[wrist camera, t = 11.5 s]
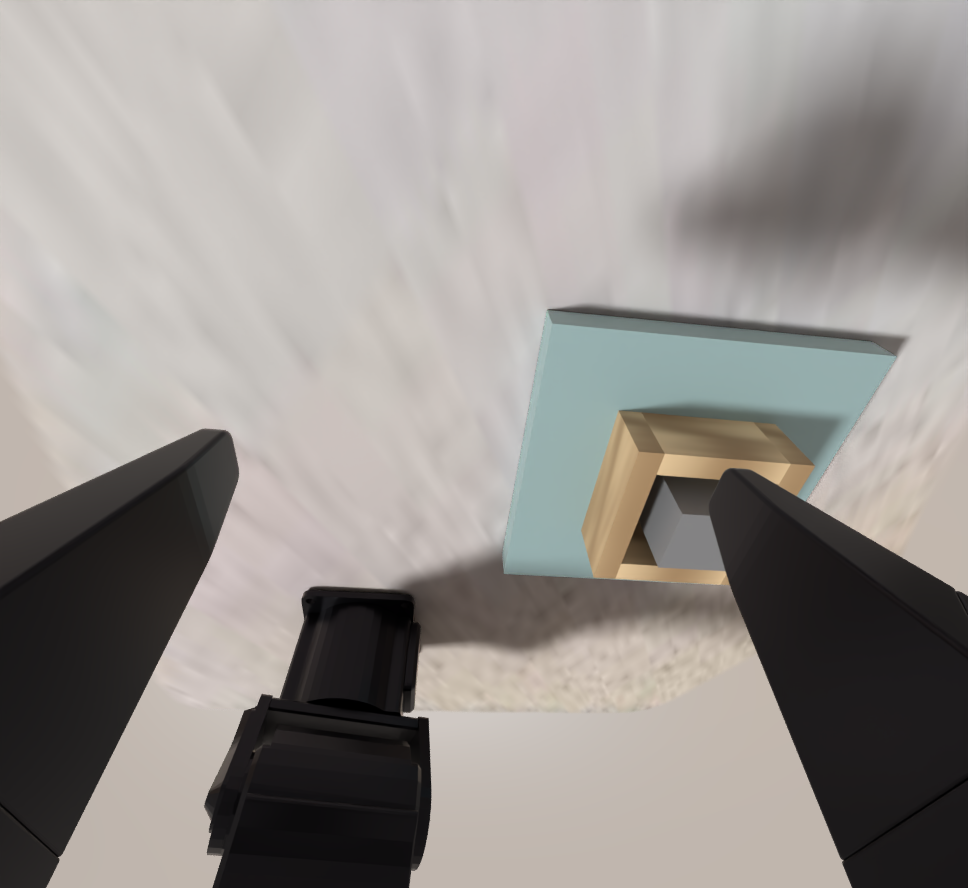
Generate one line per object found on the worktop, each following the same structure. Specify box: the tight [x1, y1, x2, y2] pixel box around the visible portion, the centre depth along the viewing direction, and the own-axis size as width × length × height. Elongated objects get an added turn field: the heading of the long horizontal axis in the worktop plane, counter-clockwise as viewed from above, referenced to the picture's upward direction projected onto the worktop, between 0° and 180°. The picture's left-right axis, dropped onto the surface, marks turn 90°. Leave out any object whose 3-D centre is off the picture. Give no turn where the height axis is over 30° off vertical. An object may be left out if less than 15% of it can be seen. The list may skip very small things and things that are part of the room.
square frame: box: [581, 410, 815, 585], centre depth 22 cm, size 7×7×3 cm
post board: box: [502, 310, 897, 586], centre depth 22 cm, size 14×14×6 cm
